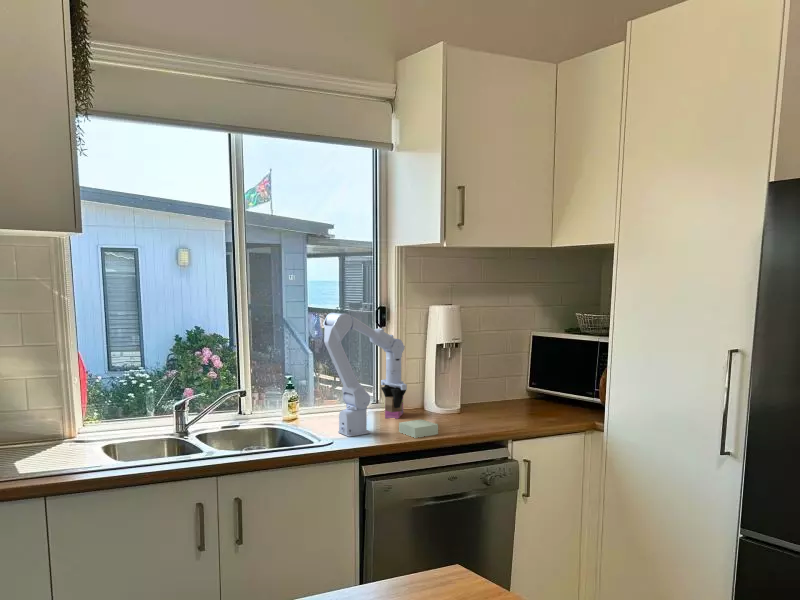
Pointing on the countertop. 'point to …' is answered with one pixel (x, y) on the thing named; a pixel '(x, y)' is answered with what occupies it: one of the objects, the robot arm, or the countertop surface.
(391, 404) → the walnut block
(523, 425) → the countertop surface
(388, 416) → the box
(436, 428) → the base block
